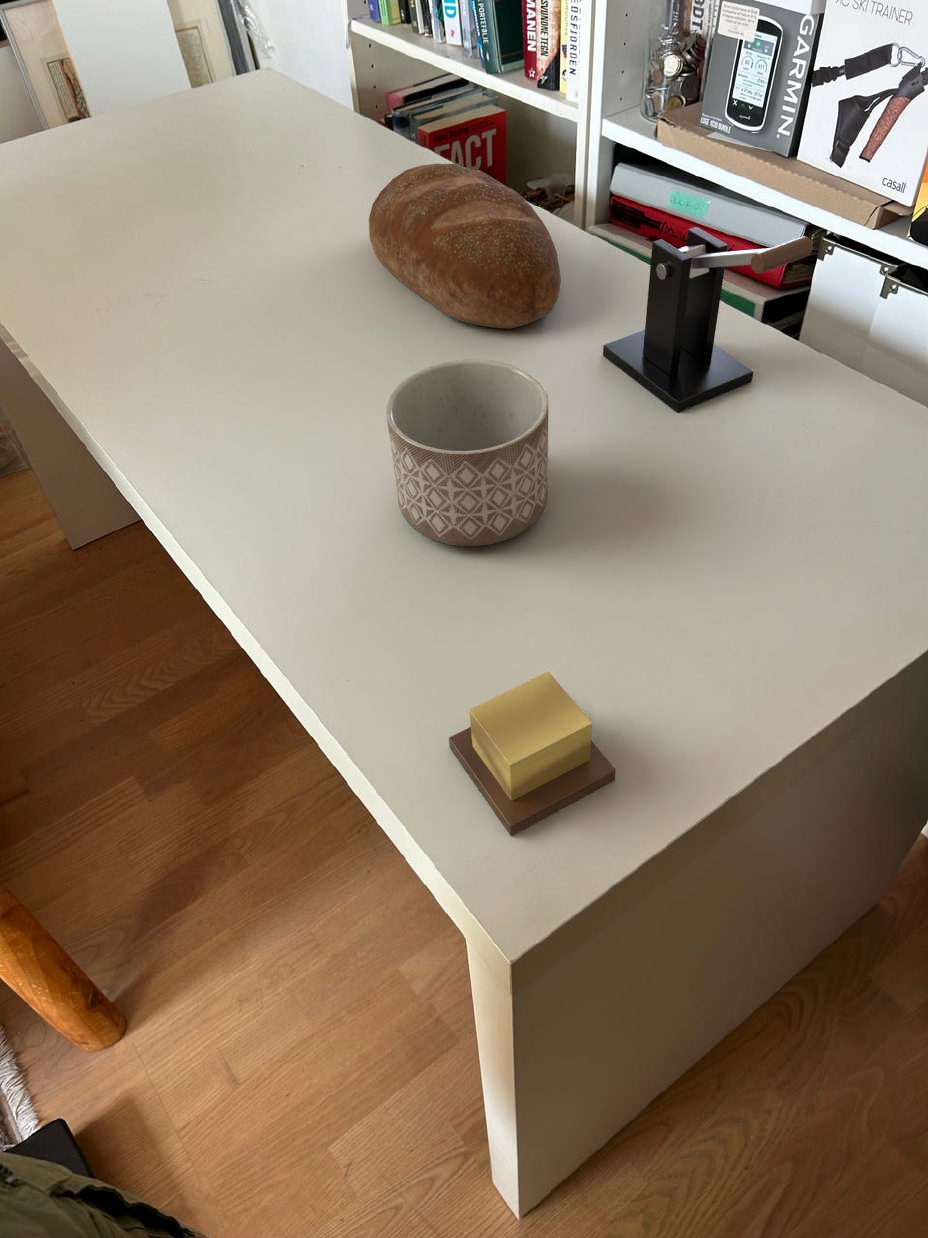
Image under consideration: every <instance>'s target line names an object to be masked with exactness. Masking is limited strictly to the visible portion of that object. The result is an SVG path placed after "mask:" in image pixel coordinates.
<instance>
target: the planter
mask: <svg viewBox="0 0 928 1238" xmlns="http://www.w3.org/2000/svg"><path fill="white" fill-rule="evenodd" d="M549 403H550V401H549V396H548V393H547V391H546V389H545V386H544V385H543V384H542V383H541V382H540V381H539V380H538V378H537V377H535V376H534V375H532V374H531V373H530V372H529V371H526V370H524V369H522V368H520V367H519V366H516V365H512V364H510V363H507V362H506V363H505V362H502V361H498V360H490V359H481V358H480V359H477V358H474V359H457V360H450V361H445V362H440V363H436V364H433V365H431V366H428V367H425V368H423V369H421V370H419V371H416V372H414V373H412V374H411V375H409V376H408V377H407V378H404V380H402V381H401V382H400V383H399V384H398V385H397V386H396V387H395V389H393V390H392V392H391V394H390V395H389V398H388V400H387V403H386V410H385V414H386V421H387V429H388V435H389V442H390V452H391V457H392V464H393V471H394V479H395V486H396V493H397V501H398V505H399V510H400V512H401V514H402V516H403V518H404V520H405V521H406V522H407V524H408V525H409V526H410V527H411V528H412V529H414V530H415V531H416V532H417V533H419V534H420V535H422V536H424V537H426V538H427V539H430V540H432V541H435V542H438V543H442V544H445V545H451V546H457V547H458V546H460V547H480V546H488V545H492V544H496V543H497V544H498V543H501V542H504V541H507V540H509V539H511V538H514V537H516V536H518V535H519V534H521V533H523V532H525V531H526V530H528V529H529V528H530V527H531V526H532V525H533V524H534V523H535V522H536V521H537V520H538V519H539V518H540V517H541V515H542V514H543V512H544V510H545V508H546V505H547V503H548V496H549Z"/></svg>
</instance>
